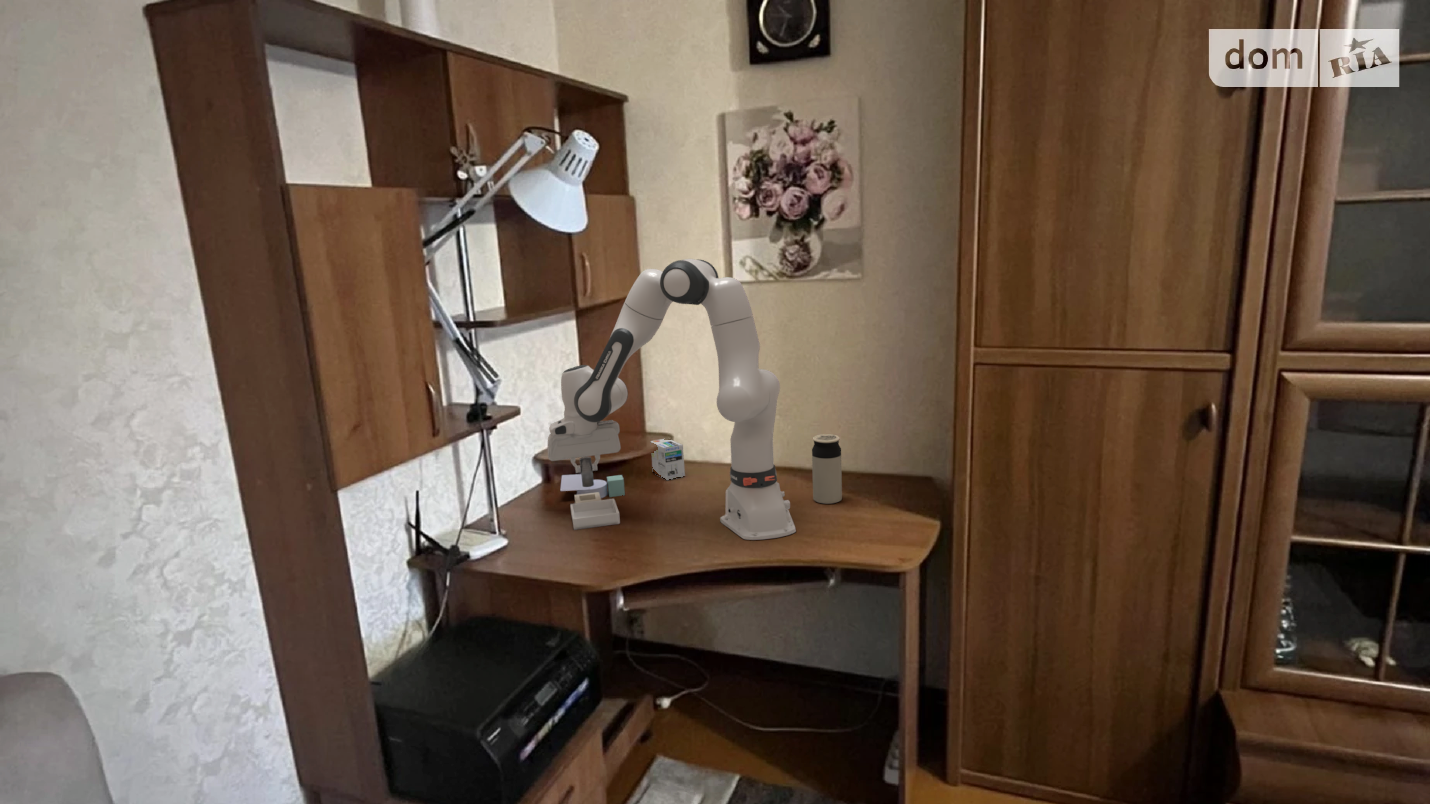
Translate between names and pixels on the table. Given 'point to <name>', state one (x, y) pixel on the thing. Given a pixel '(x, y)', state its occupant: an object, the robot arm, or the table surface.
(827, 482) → the travel mug
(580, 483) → the wedge on round base
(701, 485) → the table surface
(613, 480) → the block
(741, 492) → the robot arm
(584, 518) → the tray
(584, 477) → the pin
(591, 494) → the socket block
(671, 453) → the light bulb box
